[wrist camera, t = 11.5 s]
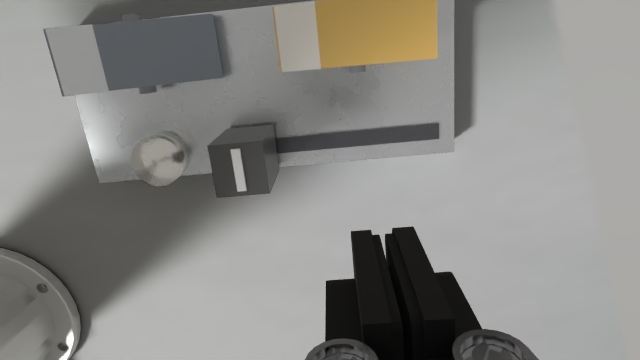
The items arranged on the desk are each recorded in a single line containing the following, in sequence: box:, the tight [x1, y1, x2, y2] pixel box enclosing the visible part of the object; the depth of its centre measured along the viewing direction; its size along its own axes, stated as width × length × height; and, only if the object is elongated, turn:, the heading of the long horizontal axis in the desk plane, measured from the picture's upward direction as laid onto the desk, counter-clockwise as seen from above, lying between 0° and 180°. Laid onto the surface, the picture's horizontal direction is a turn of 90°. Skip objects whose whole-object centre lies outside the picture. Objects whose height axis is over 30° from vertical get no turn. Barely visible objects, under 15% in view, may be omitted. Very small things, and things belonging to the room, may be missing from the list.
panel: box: [75, 0, 454, 186], centre depth 27 cm, size 10×24×4 cm, turn 96°
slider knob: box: [207, 124, 279, 198], centre depth 25 cm, size 3×3×5 cm
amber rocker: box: [272, 0, 438, 73], centre depth 24 cm, size 4×9×1 cm, turn 96°
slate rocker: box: [43, 13, 224, 96], centre depth 25 cm, size 4×9×1 cm, turn 96°
